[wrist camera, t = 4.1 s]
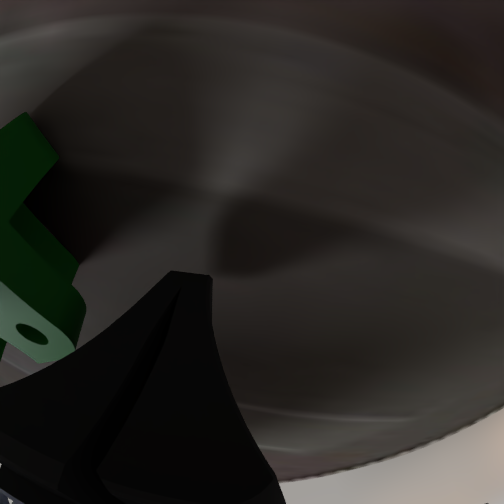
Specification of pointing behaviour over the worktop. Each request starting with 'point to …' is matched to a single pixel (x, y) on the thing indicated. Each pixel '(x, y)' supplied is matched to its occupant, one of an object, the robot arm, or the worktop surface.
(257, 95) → the worktop surface
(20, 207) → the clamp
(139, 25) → the worktop surface
